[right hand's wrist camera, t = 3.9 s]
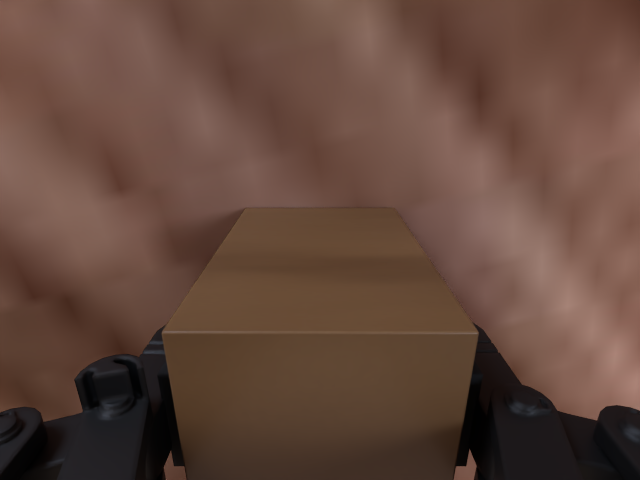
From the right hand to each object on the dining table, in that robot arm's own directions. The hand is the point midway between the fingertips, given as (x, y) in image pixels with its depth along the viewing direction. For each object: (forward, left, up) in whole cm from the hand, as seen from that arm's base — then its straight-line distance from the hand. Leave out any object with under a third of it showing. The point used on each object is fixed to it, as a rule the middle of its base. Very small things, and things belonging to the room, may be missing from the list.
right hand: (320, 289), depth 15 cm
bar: (+8, 0, -1) cm, 9 cm away
